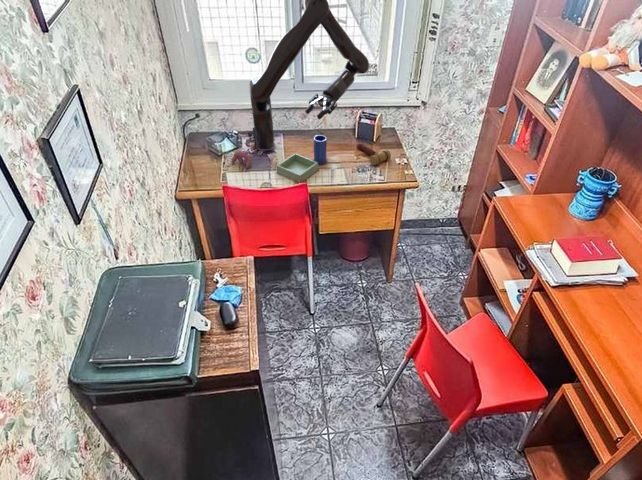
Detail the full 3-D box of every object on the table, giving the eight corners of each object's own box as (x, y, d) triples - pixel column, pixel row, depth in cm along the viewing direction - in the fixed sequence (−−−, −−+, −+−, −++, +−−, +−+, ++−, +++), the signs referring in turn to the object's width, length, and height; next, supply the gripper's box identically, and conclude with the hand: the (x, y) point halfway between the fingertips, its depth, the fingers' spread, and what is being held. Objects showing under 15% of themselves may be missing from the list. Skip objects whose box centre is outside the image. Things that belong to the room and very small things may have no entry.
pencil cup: (311, 161, 228) (311, 138, 219) (318, 156, 231) (318, 133, 222) (321, 165, 226) (321, 142, 217) (328, 160, 229) (329, 137, 220)
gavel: (348, 142, 235) (363, 136, 239) (348, 151, 238) (363, 145, 242) (375, 158, 223) (391, 151, 227) (375, 166, 226) (390, 160, 230)
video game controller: (252, 168, 225) (254, 153, 222) (247, 168, 221) (249, 153, 218) (235, 163, 227) (237, 148, 225) (230, 163, 223) (231, 148, 221)
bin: (276, 173, 220) (276, 165, 217) (295, 160, 228) (294, 153, 225) (300, 183, 215) (299, 175, 212) (318, 170, 223) (318, 162, 220)
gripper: (322, 79, 215) (299, 104, 214) (342, 87, 207) (318, 113, 206) (328, 92, 221) (306, 117, 220) (348, 100, 213) (325, 125, 212)
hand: (312, 115), depth 213 cm, fingers open, 8 cm apart
